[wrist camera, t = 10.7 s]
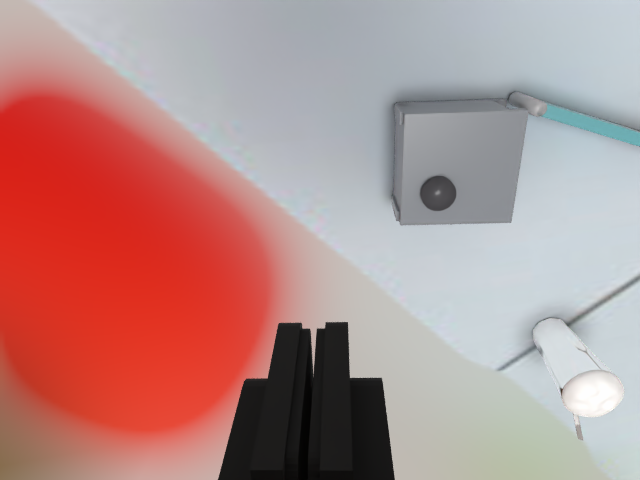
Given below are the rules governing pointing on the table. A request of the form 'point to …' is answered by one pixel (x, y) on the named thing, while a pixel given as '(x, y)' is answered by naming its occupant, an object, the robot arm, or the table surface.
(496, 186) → the camera case
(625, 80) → the table surface
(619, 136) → the door
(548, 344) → the milkshake
